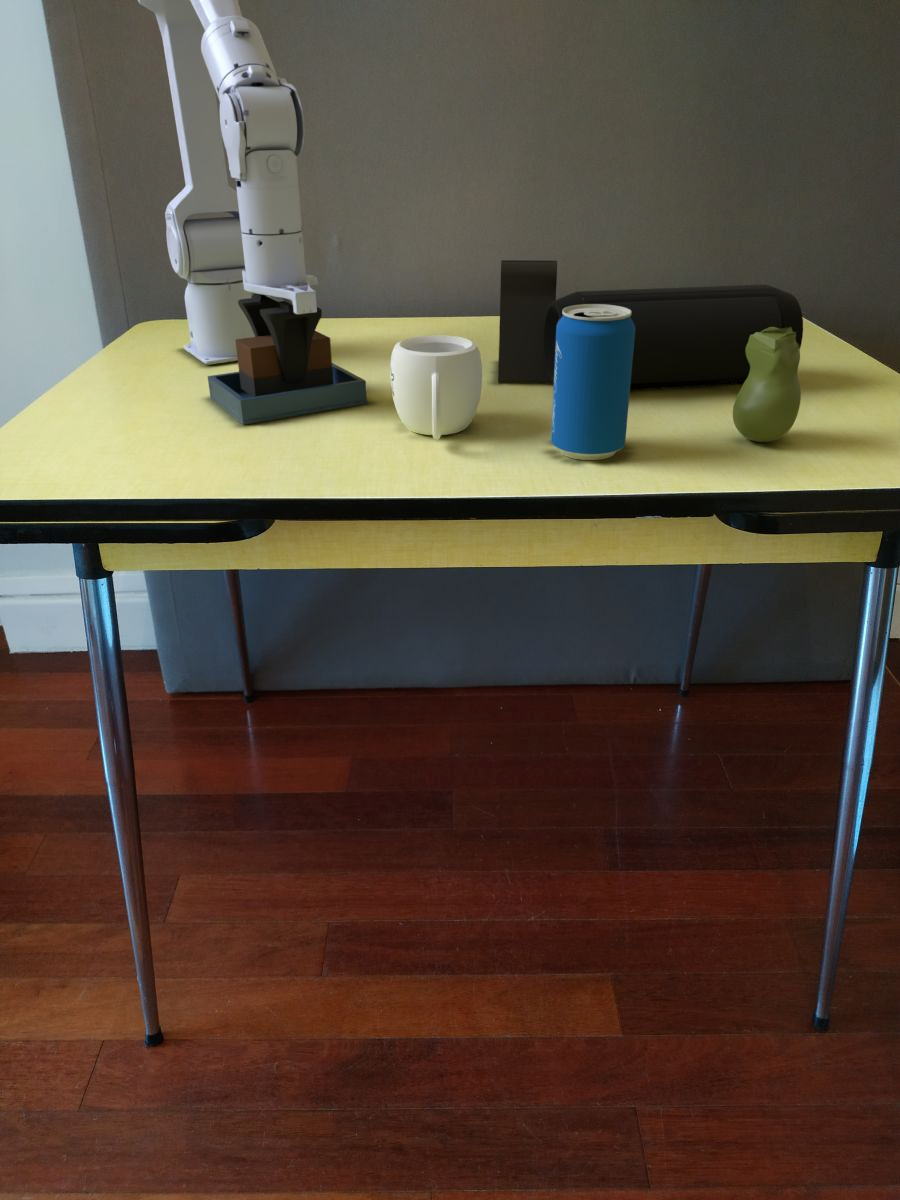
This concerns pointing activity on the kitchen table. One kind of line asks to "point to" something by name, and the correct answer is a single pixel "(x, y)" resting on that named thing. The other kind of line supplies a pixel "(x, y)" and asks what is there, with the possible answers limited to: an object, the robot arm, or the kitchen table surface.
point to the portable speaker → (687, 330)
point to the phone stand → (524, 319)
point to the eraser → (265, 373)
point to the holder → (286, 397)
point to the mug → (436, 383)
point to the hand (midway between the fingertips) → (285, 374)
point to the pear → (769, 386)
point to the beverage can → (592, 380)
